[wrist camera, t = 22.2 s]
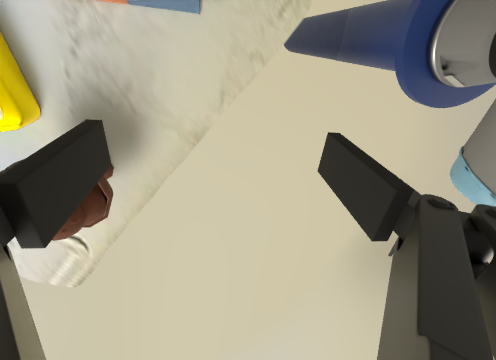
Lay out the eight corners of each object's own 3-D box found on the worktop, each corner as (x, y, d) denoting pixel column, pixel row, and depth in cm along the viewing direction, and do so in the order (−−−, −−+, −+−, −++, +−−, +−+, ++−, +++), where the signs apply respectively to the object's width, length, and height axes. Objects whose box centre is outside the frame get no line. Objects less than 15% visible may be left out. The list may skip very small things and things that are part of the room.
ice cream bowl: (143, 174, 43) (115, 231, 31) (95, 202, 45) (49, 268, 32) (97, 125, 38) (39, 169, 25) (44, 159, 40) (-35, 217, 27)
